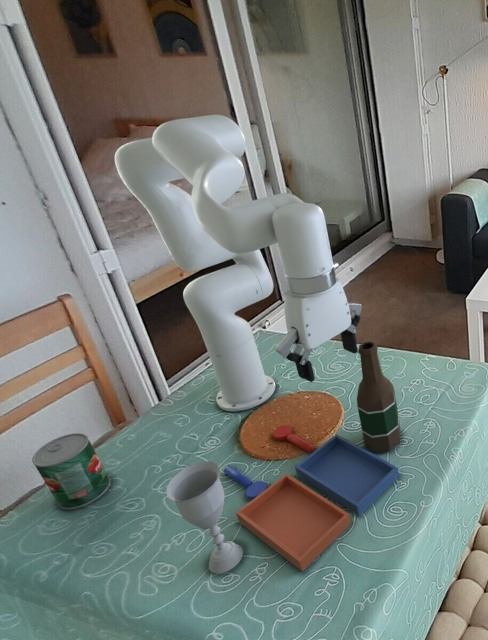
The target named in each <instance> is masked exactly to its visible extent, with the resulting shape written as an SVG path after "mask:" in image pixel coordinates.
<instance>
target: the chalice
mask: <svg viewBox="0 0 488 640" xmlns="http://www.w3.org/2000/svg"><path fill="white" fill-rule="evenodd" d="M220 473H221V472H220V467H219V465H218V464H217V463H216V462H214V461H209V460H208V461H205V460H204V461H199V462H196V463H193V464H190V465H188V466H187V467H185V468H183V469H181V470H180V471H179V472H178V473H176V474H175V475H174V476H173V477H172V478H171V480H170V481H169V483H168V485H167V486H166V495H167V498H168V499H170V500H172V501H174V502H175V503H174V504H176V507H177V510H178V512H179V514H180V516H181V517H182V519H183V520H185V521H186V522H188V523H189V524H191V525H193V526H195V527H197V528H200V529H203V530H209V534H208V535H209V536H210V537H213V538H212V540H211V543H212V545H216V546H215V547H214V548H213V549H212V551H211V553H210V558H209V563H208V569H209V571H210V572H211V573H213V574H219V575H220V574H223V573H227V572H229V571H231V570H232V569H234V568H235V567H236V566H237V565H238V564H239V563H240V561H241V560H242V559H243V556H244V549H243V547H242V546H241V545H239V544H237V543H235V542H233V541H231V540H227V541H224V540H225V534H223V533H220V532H221V527H220V526H218V525H217V524H218V523H219V522H220V520H221V518H222V517H221V516H222V513H223V509H224V506H225V490H224V487H223V485H222V483H221V480H220V477H219V476H220Z"/></svg>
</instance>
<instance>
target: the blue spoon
mask: <svg viewBox="0 0 488 640" xmlns="http://www.w3.org/2000/svg"><path fill="white" fill-rule="evenodd" d="M223 472H224V473H225V474H226V475H227V476H229V477H230V478H231V479H233V480H234V481H235V482H237V483H238V484H240V485H241V486H243V487H244V488H246V490H245V495H246V498H247V499H248V500H249V501H252V500H253V499H254V498H256V497H257V496H258V495H259V494H261V493H262V492H263V491H265V490H266V489H267V488H268V487H269V486H268V484H267V482H265V481H263V480H258V481H254V482H253V481H252V479H251V478H249V477H247V476H246V475H245V474H244V473H242V472H240V471H239V470H237V469H236V468H235V467H233V466H232V465H226V466H225V467H224V469H223Z"/></svg>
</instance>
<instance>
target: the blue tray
mask: <svg viewBox="0 0 488 640" xmlns="http://www.w3.org/2000/svg"><path fill="white" fill-rule="evenodd" d="M294 469H295V472H296V475H297V477H298V478H300V479H301V480H302V481H304V482H306V483H307V484H309V485H311V486H312V487H313V488H315V489H316V490H318V491H320V492H322V493H323V494H324V495H326V496H328V497H329V498H331V499H332V500H334V501H336V502H337V503H339V504H340V505H342V506H343V507H345V508H347V509H348V510H350V511H351V512H353V513H354V514H356V515H358V516H359V517H360V516H361V515H362V514H363V513H364V512H365V511H366V510H367V509H368V508H369V507H370V506H372V504H373V503H374V502H376V501H377V499H378V498H380V497H381V495H382V494H384V492H386V491H387V489H388V488H389V487H391V485H393V484H394V483H395V482H396V480H398V479H399V478H400V473H399V468H398V466H396V465H394V464H392V463H391V462H389V461H388V460H387V461H386V460H385V459H383V458H381V457H379V456H378V455H377V454H374V453H372V452H370V451H368V450H367V449H365V448H363V447H361V446H360V445H358V444H355V443H354V442H352V441H351V440H349V439H347V438H345V437H343V436H341V435H340V434H337V433H336V434H335V435H334V436H332V437H331V438H329V440H327V441H326V442H325V443H323V444H321V446H319V447H318V448H317V449H316V450H314V451H313V452H311V453H310V454H309V455H308V456H307V457H305V458H304V459H302V461H300V462H299V463H298V464H296V465H295V466H294Z"/></svg>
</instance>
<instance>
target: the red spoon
mask: <svg viewBox="0 0 488 640" xmlns="http://www.w3.org/2000/svg"><path fill="white" fill-rule="evenodd" d="M272 436H273V439H274V440H275V441H276V442H277V441H278V442H281V441H285V440H287V441H289V442H290V443H292V444H294V445H295V446H297V447H299V448H300V449H302V450H303V451H305V452H307V453H310V454H312V453H313V452H314V451H315V446H314V445H313V444H311V443H310V442H308V441H307V440H304V439H303V438H301V437H299V436H298V435H296V434H294V433H293V429H292V427H291V426H289V425H280V426H278V427H277V428H275V429H274V431H273V432H272Z"/></svg>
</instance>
